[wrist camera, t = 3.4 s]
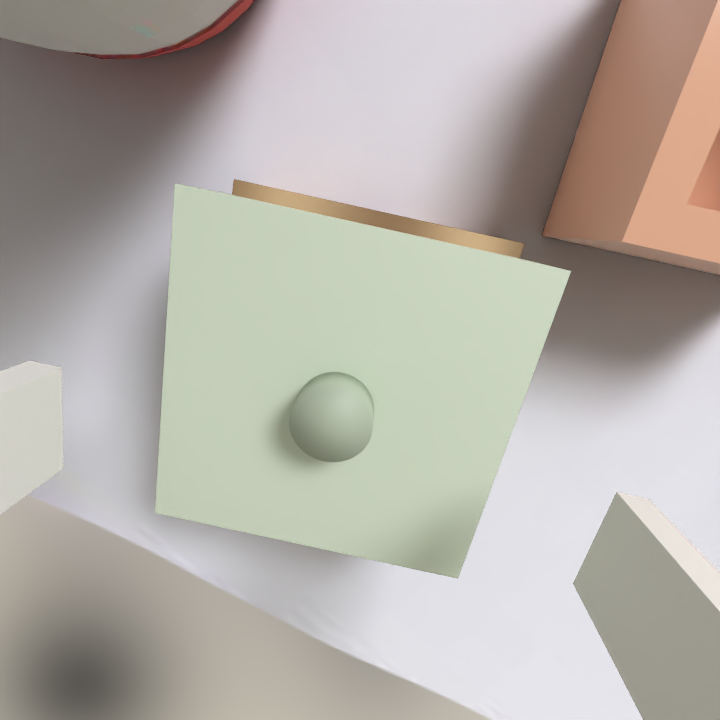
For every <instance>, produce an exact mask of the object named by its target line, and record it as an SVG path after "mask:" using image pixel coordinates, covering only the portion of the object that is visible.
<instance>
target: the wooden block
mask: <svg viewBox="0 0 720 720" xmlns="http://www.w3.org/2000/svg"><path fill="white" fill-rule="evenodd" d="M232 195H235V196H240V197H244V198H249V199H253V200H258V201H262V202H267V203H271V204H276V205H280V206H285V207H289V208H294V209H298V210H303V211H307V212H312V213H316V214H321V215H325V216H330V217H335V218H339V219H344V220H348V221H353V222H357V223H362V224H366V225H371V226H375V227H380V228H384V229H389V230H393V231H398V232H402V233H407V234H411V235H416V236H420V237H425V238H429V239H434V240H438V241H443V242H447V243H452V244H456V245H461V246H465V247H470V248H474V249H479V250H484V251H488V252H493V253H497V254H502V255H506V256H511V257H515V258H520V256H521V253H522V250H523V247H524V243H520V242H515V241H511V240H506V239H502V238H497V237H493V236H488V235H484V234H479V233H474V232H470V231H465V230H461V229H456V228H452V227H447V226H443V225H438V224H434V223H429V222H425V221H420V220H416V219H411V218H407V217H402V216H398V215H393V214H389V213H384V212H380V211H375V210H371V209H366V208H362V207H357V206H353V205H348V204H344V203H339V202H335V201H330V200H326V199H321V198H317V197H312V196H308V195H303V194H299V193H294V192H290V191H285V190H281V189H276V188H272V187H267V186H262V185H258V184H253V183H249V182H244V181H240V180H235V179H234V182H233V192H232Z"/></svg>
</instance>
